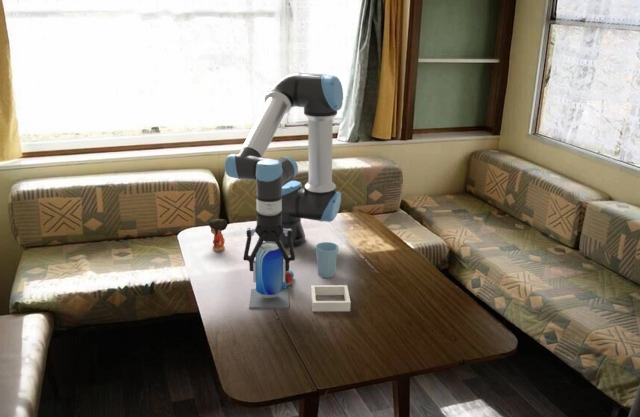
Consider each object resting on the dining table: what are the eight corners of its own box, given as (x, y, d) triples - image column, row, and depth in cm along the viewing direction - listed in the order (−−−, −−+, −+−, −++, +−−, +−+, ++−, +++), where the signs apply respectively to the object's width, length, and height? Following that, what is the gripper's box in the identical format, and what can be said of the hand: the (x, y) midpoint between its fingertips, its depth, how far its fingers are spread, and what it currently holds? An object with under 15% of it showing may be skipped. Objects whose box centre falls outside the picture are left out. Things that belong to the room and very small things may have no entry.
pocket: (311, 293, 199) (311, 285, 198) (346, 293, 200) (347, 285, 199) (312, 311, 188) (312, 302, 187) (350, 311, 189) (350, 302, 188)
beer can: (271, 284, 200) (270, 238, 194) (288, 293, 194) (288, 246, 189) (250, 292, 194) (249, 245, 189) (267, 301, 188) (267, 253, 183)
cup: (341, 277, 211) (342, 249, 207) (320, 280, 208) (321, 252, 205) (331, 268, 218) (332, 240, 214) (311, 271, 215) (312, 244, 211)
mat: (251, 290, 200) (251, 288, 200) (288, 290, 201) (288, 288, 201) (249, 308, 189) (249, 307, 189) (288, 308, 190) (288, 306, 189)
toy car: (271, 275, 211) (271, 248, 208) (296, 279, 209) (296, 252, 206) (261, 287, 203) (261, 259, 200) (287, 291, 201) (287, 263, 197)
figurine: (219, 244, 235) (218, 214, 231) (229, 247, 232) (229, 217, 228) (207, 249, 230) (205, 219, 226) (217, 253, 227) (216, 222, 223)
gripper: (232, 215, 181) (234, 285, 188) (304, 216, 182) (303, 285, 190) (234, 207, 188) (236, 274, 195) (304, 207, 189) (303, 274, 197)
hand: (269, 280), depth 193 cm, fingers closed on beer can, 8 cm apart
